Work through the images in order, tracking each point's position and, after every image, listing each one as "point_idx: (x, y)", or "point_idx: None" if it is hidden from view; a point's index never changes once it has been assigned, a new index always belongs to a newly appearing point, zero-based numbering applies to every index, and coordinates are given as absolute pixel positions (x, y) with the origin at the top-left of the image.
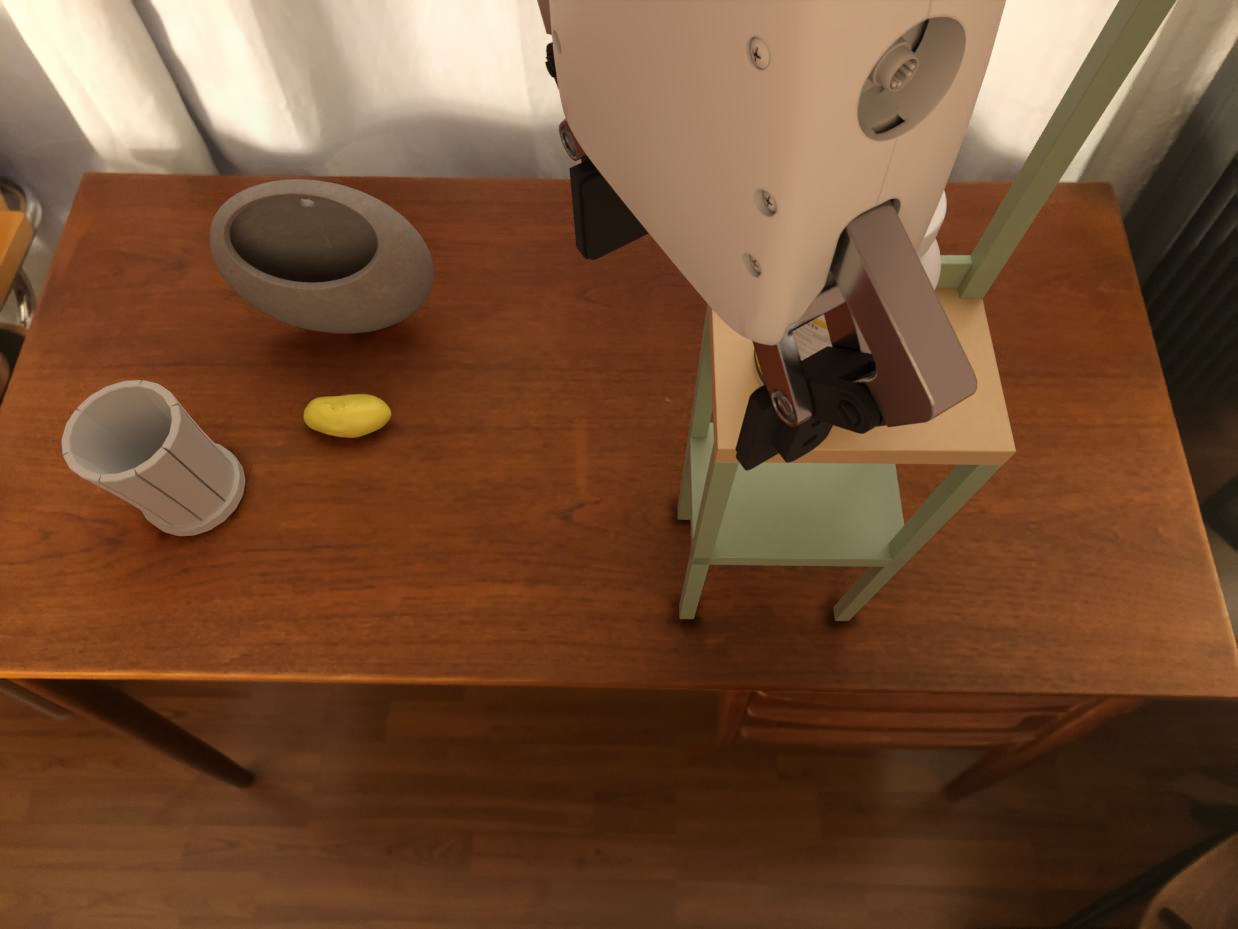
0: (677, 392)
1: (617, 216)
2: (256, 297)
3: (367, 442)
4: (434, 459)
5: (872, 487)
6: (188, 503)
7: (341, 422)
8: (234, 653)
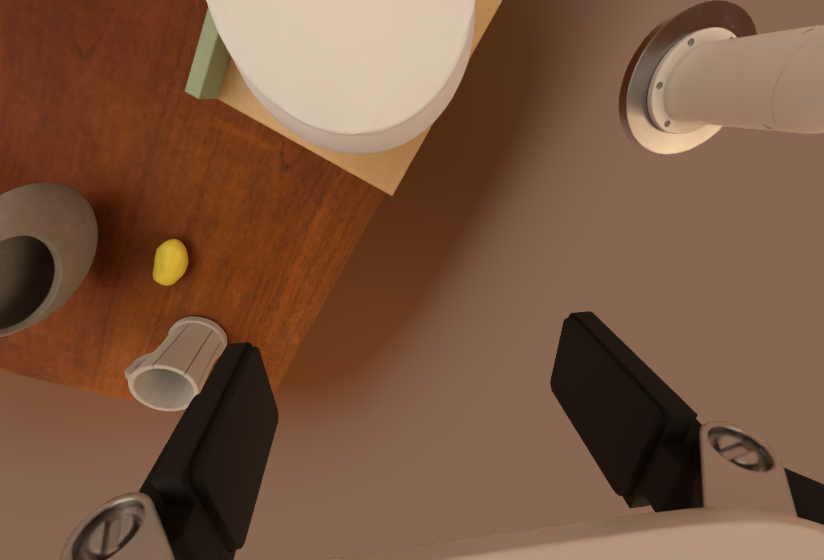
0: None
1: (255, 434)
2: (61, 304)
3: (192, 254)
4: (217, 223)
5: None
6: (212, 351)
7: (177, 270)
8: (296, 338)
